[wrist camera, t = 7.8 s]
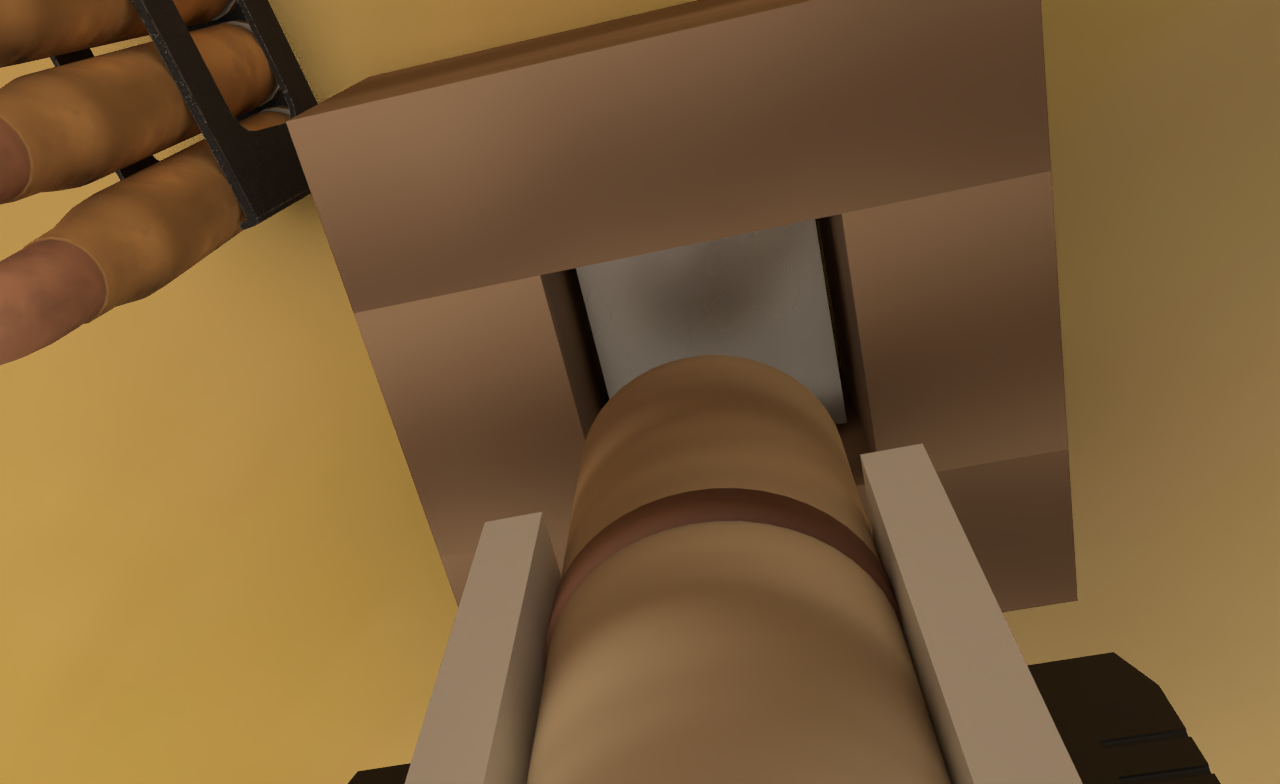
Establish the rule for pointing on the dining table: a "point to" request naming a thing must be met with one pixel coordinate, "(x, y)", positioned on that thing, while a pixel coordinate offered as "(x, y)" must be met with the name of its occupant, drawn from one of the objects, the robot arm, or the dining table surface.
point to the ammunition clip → (138, 147)
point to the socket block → (707, 210)
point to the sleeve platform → (718, 308)
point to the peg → (725, 599)
